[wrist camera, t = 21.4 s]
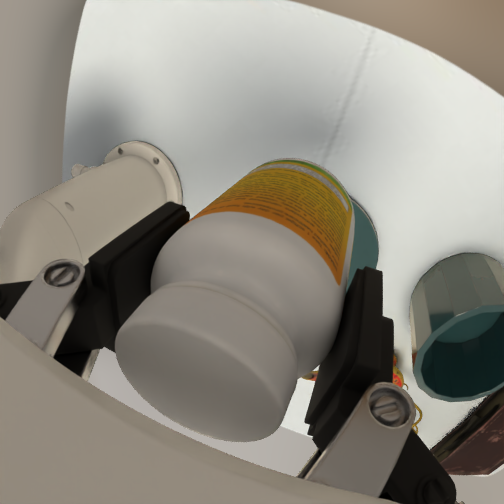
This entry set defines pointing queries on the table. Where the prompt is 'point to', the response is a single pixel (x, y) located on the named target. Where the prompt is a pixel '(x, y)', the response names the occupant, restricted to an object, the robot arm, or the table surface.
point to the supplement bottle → (243, 302)
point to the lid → (362, 243)
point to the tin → (459, 328)
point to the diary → (475, 441)
